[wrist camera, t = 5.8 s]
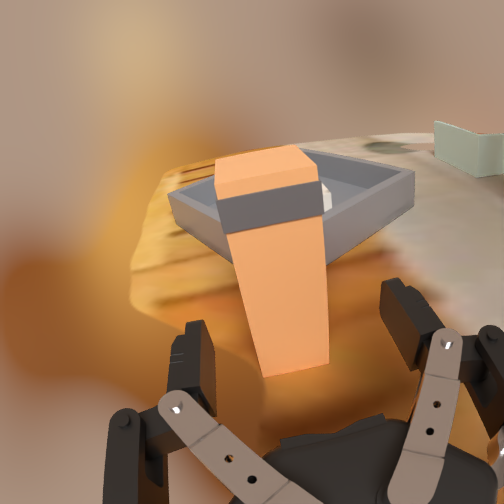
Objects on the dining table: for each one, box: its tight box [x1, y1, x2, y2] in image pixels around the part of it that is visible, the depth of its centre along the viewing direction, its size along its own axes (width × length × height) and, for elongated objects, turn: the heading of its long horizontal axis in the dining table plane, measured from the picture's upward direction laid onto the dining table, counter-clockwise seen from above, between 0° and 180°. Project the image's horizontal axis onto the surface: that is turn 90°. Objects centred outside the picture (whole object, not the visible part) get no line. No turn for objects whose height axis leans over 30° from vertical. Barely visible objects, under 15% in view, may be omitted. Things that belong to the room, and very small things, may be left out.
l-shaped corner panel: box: [434, 121, 504, 178], centre depth 44 cm, size 12×12×8 cm
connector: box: [214, 145, 329, 378], centre depth 18 cm, size 5×5×13 cm
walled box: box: [167, 148, 415, 265], centre depth 38 cm, size 22×22×4 cm
